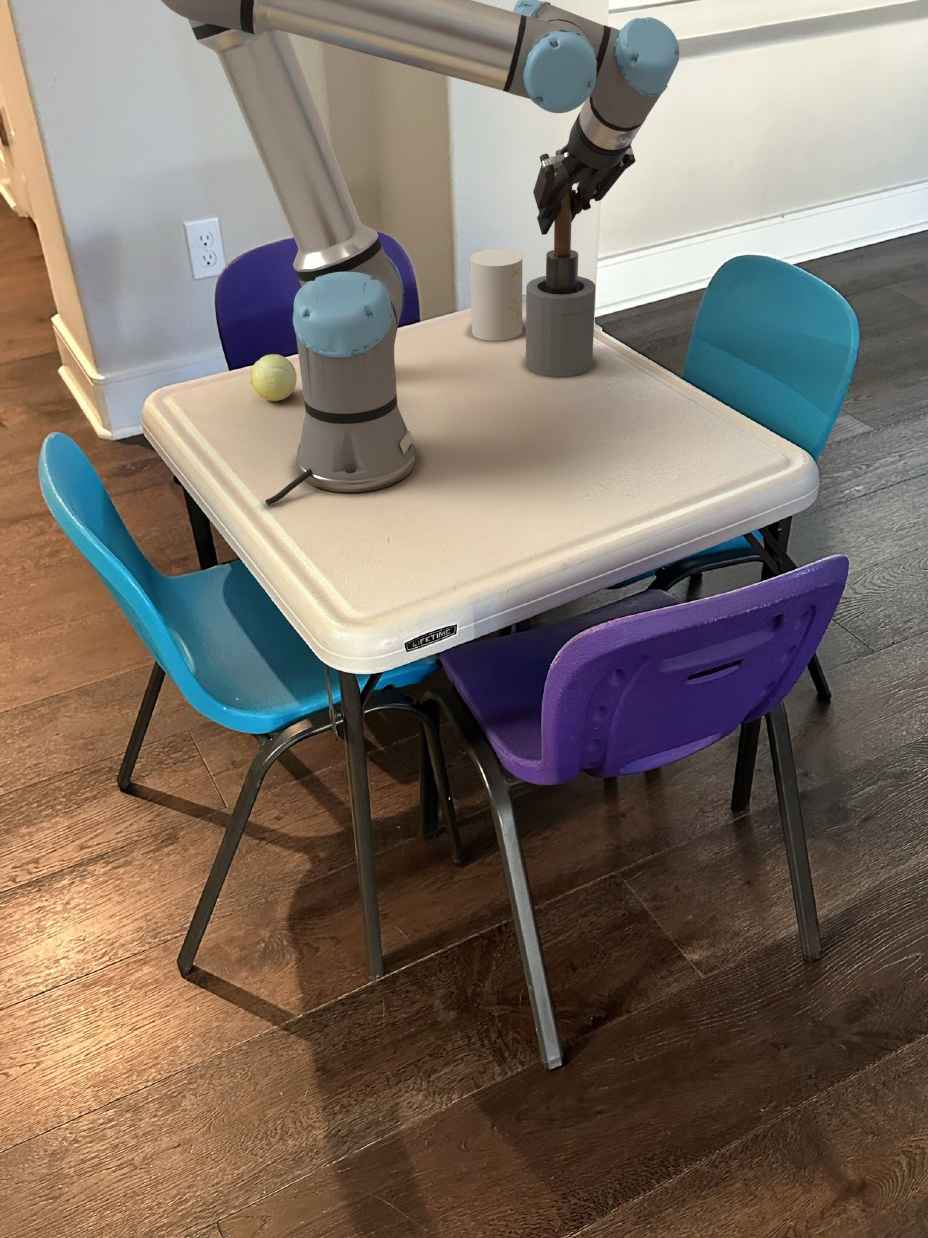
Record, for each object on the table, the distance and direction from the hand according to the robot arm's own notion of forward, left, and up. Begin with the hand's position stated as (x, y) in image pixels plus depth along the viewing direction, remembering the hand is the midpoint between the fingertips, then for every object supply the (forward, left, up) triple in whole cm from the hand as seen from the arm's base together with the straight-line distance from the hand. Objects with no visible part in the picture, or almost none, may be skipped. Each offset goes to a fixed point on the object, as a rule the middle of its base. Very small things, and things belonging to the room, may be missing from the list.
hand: (551, 224), depth 163 cm
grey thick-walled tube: (-2, -4, -20) cm, 20 cm away
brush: (-2, -4, -9) cm, 10 cm away
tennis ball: (-39, +18, -20) cm, 47 cm away
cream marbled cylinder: (+1, +12, -20) cm, 24 cm away
